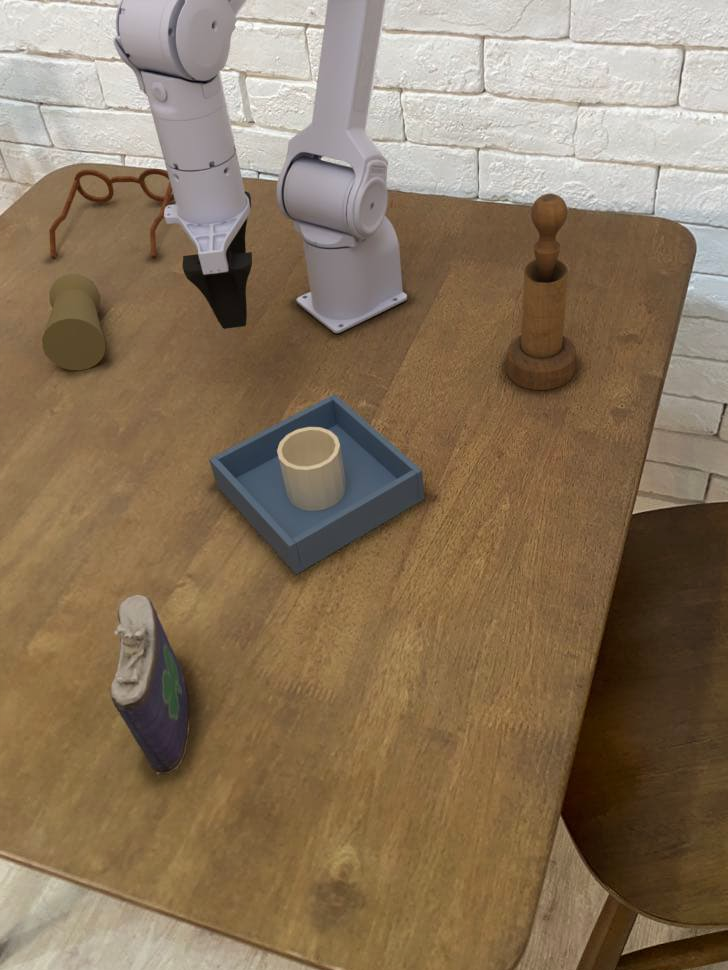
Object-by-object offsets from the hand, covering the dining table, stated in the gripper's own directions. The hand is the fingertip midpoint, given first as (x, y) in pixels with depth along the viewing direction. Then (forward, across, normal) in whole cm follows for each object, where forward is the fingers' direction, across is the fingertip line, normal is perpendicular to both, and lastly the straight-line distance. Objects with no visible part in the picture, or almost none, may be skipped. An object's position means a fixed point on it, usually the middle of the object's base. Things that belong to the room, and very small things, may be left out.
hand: (234, 300), depth 85 cm
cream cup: (+10, +15, +5) cm, 19 cm away
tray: (+10, +15, +5) cm, 19 cm away
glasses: (+11, -34, -16) cm, 40 cm away
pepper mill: (+7, -7, -18) cm, 20 cm away
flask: (+11, +36, -7) cm, 38 cm away
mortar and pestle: (+11, +2, +28) cm, 30 cm away
